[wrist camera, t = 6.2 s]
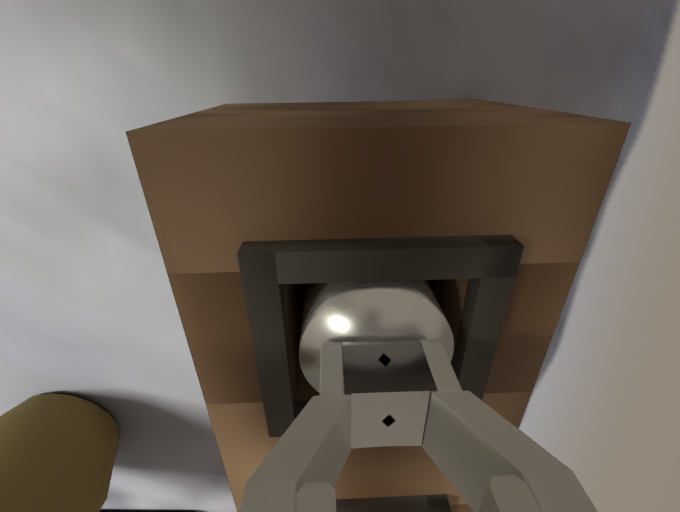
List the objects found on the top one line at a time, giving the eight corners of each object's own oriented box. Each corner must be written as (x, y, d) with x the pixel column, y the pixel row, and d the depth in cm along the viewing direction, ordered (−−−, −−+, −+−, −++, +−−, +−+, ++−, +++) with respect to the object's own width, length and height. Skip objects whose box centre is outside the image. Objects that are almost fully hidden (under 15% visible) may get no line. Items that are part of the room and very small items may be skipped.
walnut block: (280, 451, 23) (260, 613, 16) (225, 103, 13) (107, 136, 6) (423, 445, 24) (464, 601, 17) (481, 100, 13) (656, 126, 6)
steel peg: (313, 272, 16) (303, 410, 10) (308, 192, 15) (292, 294, 8) (394, 269, 17) (443, 404, 10) (400, 190, 15) (465, 289, 8)
